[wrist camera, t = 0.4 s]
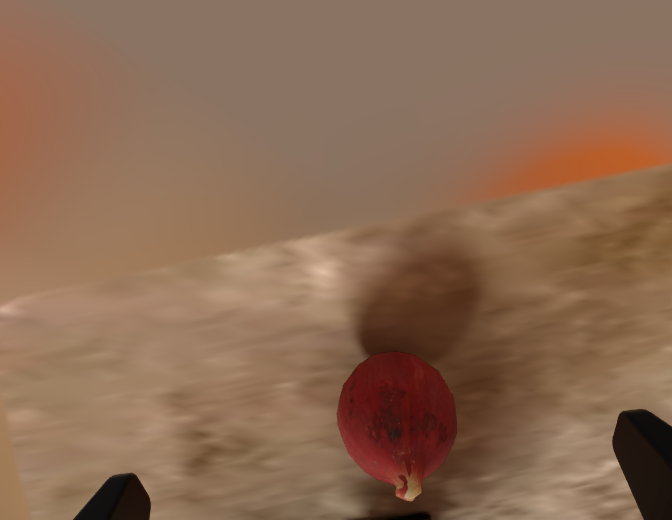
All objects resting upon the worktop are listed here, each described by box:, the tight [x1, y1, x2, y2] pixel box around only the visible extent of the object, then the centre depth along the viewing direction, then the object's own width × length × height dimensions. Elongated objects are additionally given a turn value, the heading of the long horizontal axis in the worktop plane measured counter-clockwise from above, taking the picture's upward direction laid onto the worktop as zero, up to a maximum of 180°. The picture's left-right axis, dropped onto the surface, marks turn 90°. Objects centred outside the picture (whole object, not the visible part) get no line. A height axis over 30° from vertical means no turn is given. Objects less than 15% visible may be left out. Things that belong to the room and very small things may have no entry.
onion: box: [337, 351, 457, 501], centre depth 23 cm, size 6×6×8 cm
